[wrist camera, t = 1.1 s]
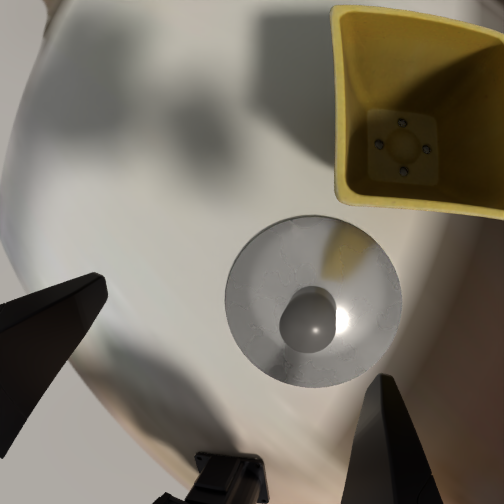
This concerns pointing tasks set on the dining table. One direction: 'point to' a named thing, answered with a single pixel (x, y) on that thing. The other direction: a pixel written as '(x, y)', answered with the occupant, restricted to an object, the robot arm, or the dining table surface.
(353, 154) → the flower pot
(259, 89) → the dining table surface
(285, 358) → the lid
